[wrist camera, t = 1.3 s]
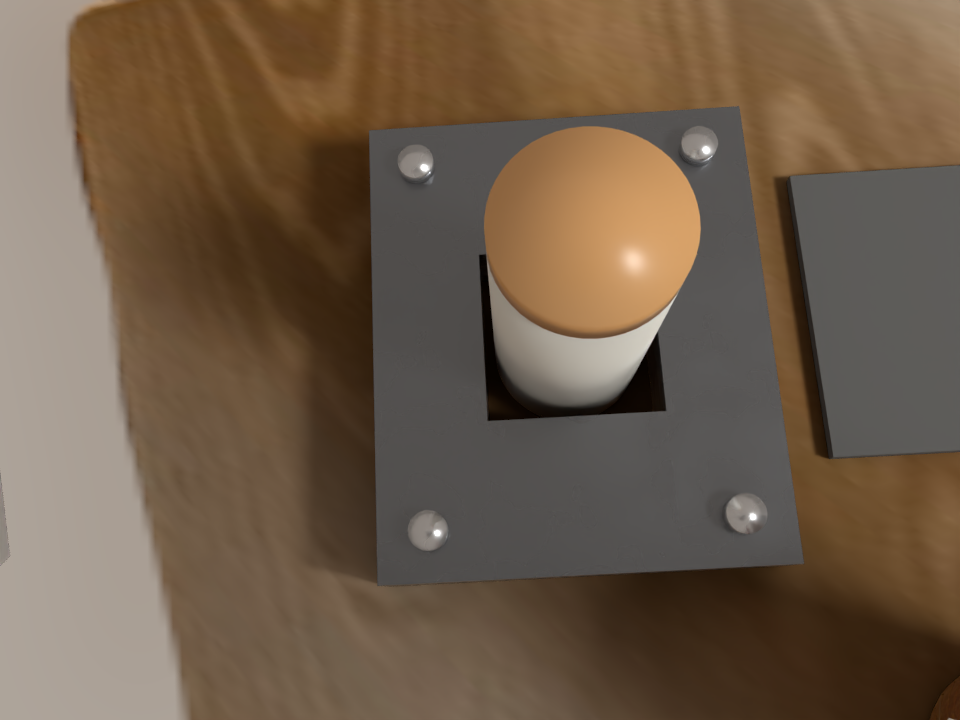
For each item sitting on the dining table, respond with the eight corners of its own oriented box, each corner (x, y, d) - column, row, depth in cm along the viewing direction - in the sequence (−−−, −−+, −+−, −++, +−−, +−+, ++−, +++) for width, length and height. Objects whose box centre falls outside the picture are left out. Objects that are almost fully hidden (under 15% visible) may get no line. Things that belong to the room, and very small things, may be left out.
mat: (1070, 163, 37) (1077, 157, 37) (1139, 441, 34) (1147, 440, 34) (786, 181, 38) (789, 176, 37) (828, 458, 35) (833, 457, 34)
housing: (722, 143, 38) (742, 98, 35) (779, 566, 34) (809, 563, 30) (380, 165, 39) (366, 122, 35) (389, 586, 34) (374, 585, 31)
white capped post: (629, 281, 37) (688, 119, 24) (643, 417, 35) (712, 319, 23) (491, 289, 37) (478, 133, 24) (499, 425, 35) (489, 332, 23)
